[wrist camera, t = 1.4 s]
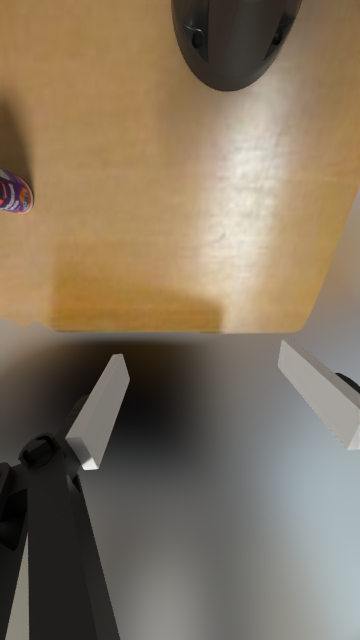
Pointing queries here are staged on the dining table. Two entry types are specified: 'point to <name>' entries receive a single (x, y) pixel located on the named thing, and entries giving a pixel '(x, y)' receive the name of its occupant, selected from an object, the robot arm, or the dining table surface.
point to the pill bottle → (14, 193)
